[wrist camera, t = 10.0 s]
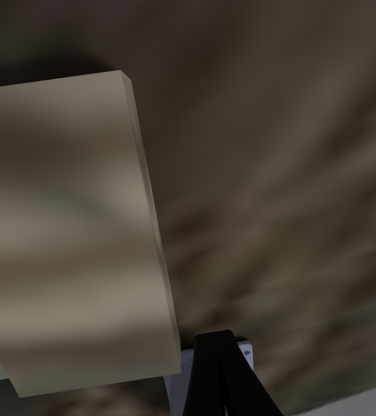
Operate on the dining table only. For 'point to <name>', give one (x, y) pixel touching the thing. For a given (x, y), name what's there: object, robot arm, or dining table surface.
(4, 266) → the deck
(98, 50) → the dining table surface
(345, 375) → the dining table surface
